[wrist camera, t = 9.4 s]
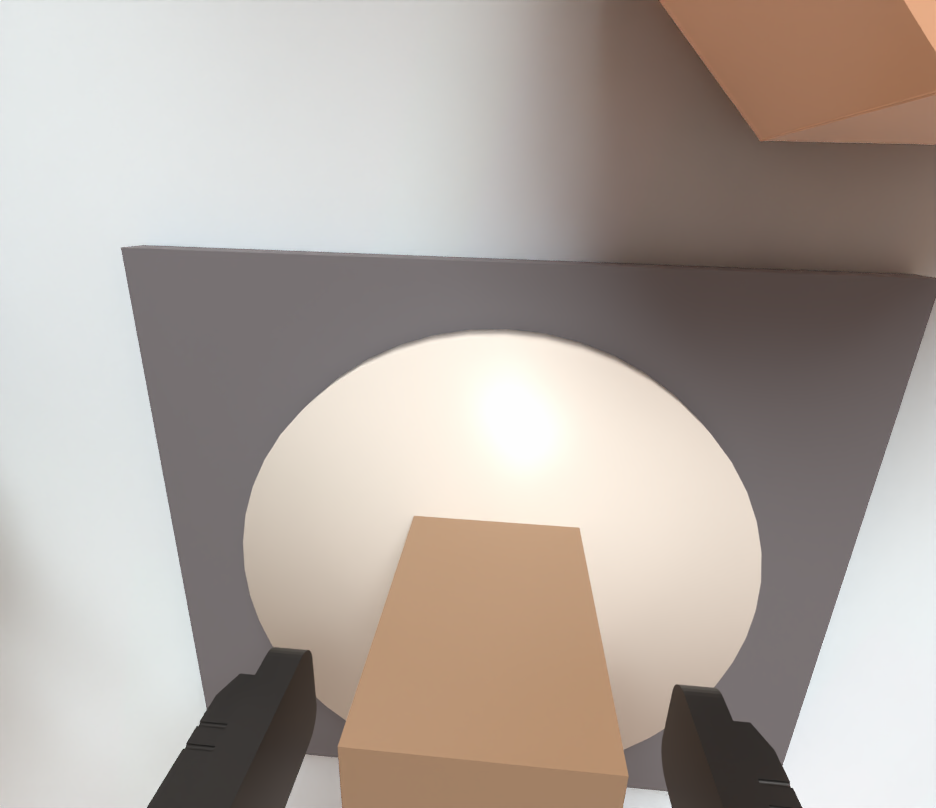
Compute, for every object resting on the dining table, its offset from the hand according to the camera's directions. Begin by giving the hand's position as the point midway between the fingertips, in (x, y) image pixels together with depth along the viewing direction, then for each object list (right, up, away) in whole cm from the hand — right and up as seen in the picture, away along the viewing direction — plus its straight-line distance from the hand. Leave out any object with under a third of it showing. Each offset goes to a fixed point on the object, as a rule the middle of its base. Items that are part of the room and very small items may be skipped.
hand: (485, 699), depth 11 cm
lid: (0, +1, +4) cm, 4 cm away
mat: (0, +2, +5) cm, 5 cm away
